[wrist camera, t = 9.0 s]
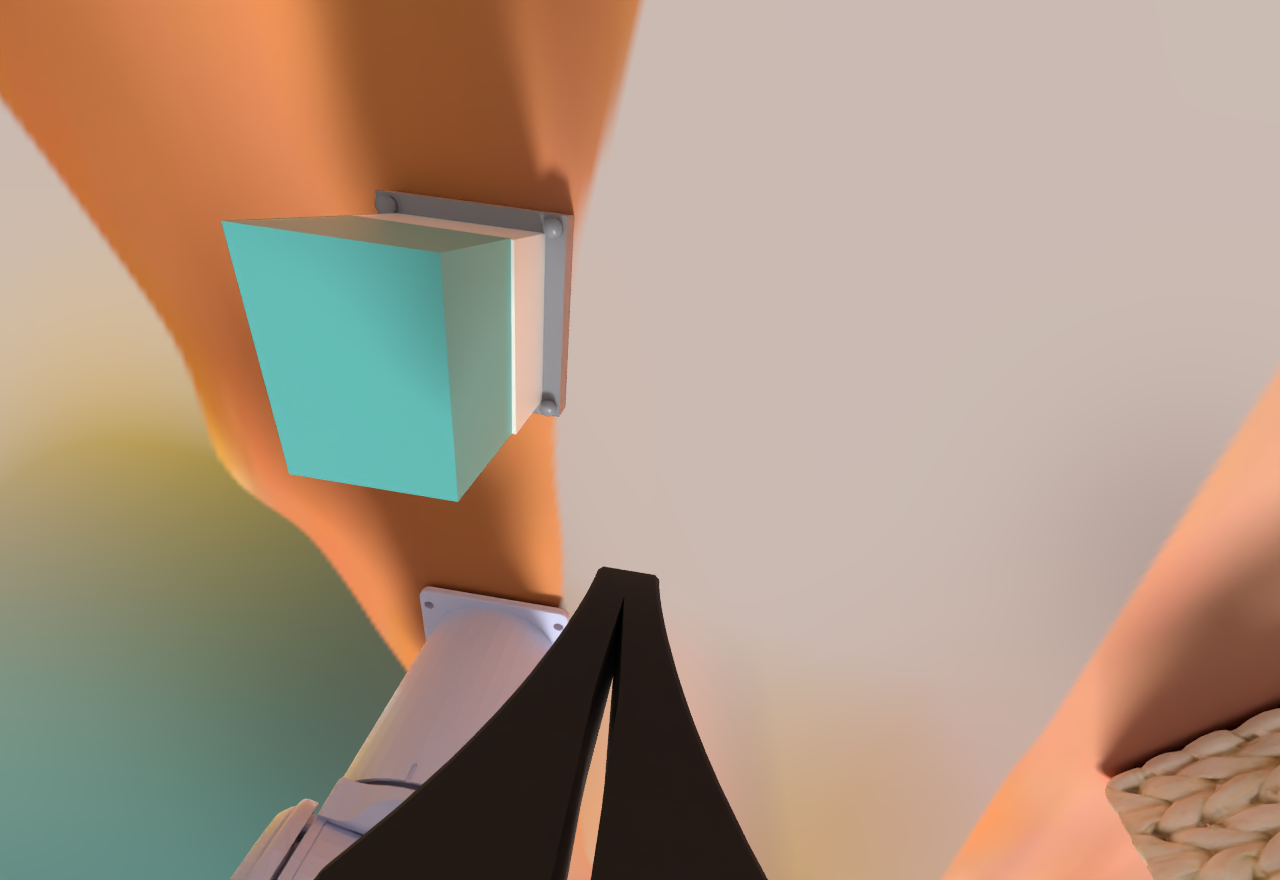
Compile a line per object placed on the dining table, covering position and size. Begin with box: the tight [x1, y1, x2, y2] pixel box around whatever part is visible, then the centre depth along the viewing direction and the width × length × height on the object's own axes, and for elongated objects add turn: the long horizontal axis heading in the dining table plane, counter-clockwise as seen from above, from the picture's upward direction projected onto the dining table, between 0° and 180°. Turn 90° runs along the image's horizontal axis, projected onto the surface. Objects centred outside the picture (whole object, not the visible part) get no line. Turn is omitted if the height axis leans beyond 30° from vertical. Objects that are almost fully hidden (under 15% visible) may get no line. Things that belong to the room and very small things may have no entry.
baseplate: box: [375, 190, 574, 417], centre depth 17 cm, size 7×6×1 cm
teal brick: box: [221, 215, 512, 502], centre depth 12 cm, size 6×4×4 cm
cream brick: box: [343, 213, 545, 434], centre depth 16 cm, size 6×5×3 cm
